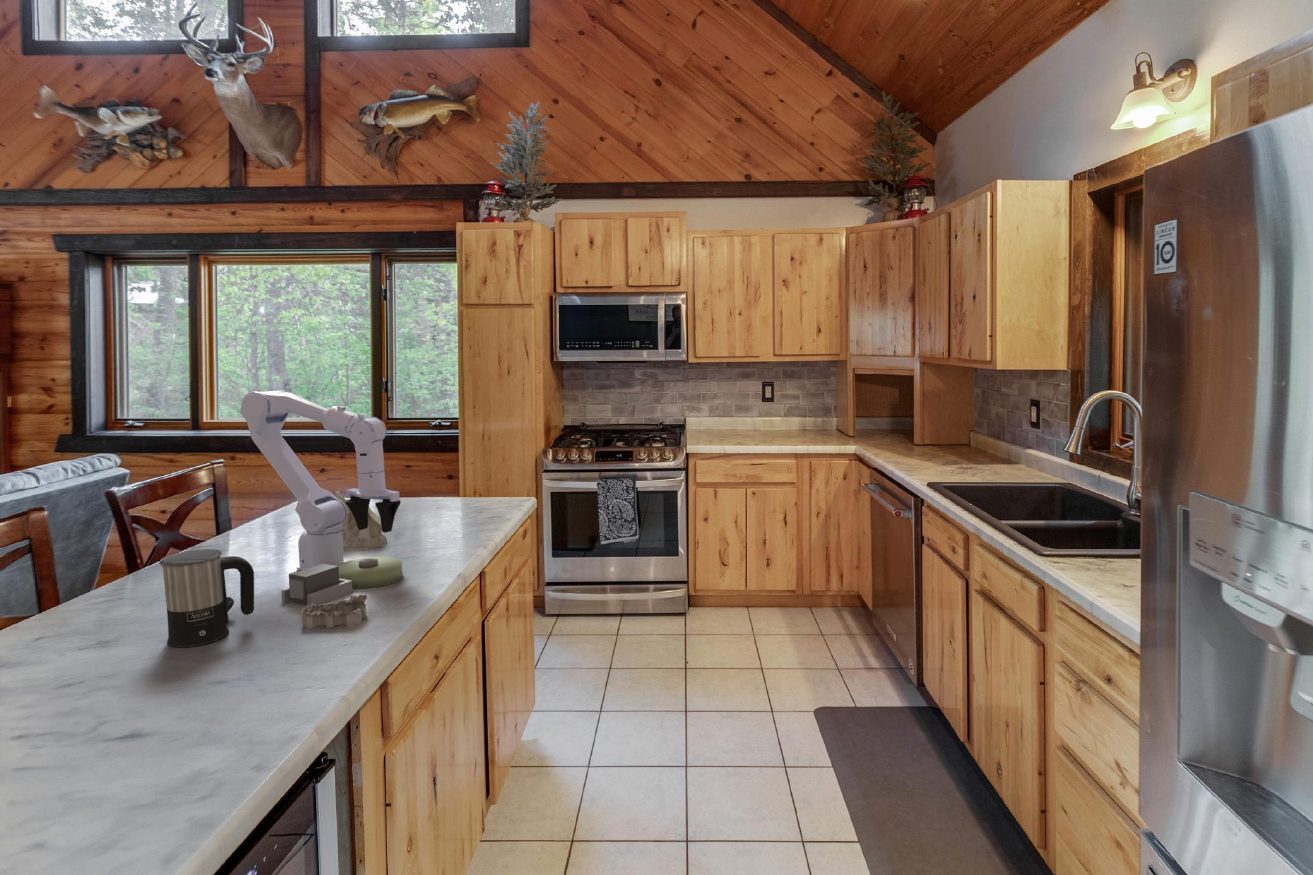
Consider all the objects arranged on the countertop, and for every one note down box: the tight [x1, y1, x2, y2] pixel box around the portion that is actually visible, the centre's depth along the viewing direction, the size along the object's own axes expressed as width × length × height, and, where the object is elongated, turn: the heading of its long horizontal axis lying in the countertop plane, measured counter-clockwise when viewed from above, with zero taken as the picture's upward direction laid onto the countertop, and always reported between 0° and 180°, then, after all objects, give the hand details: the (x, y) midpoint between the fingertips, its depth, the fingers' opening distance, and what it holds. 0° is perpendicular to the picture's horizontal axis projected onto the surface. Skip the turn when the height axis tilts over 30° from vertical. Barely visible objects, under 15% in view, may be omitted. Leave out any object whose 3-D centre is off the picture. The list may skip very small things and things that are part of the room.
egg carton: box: [300, 594, 368, 629], centre depth 135 cm, size 11×8×4 cm
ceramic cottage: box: [335, 490, 388, 551], centre depth 193 cm, size 16×16×15 cm
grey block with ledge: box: [288, 564, 339, 607], centre depth 148 cm, size 8×5×6 cm, turn 156°
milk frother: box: [158, 548, 255, 648], centre depth 130 cm, size 14×16×15 cm
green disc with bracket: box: [280, 556, 403, 605], centre depth 156 cm, size 14×26×4 cm, turn 156°
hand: (375, 530), depth 166 cm, fingers open, 7 cm apart
